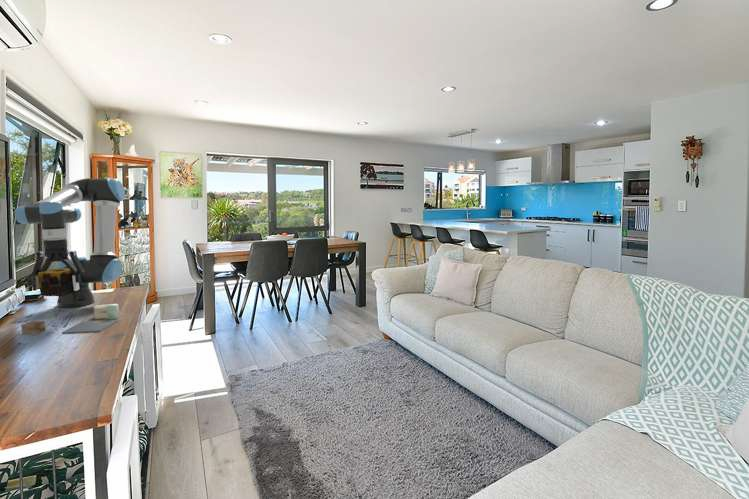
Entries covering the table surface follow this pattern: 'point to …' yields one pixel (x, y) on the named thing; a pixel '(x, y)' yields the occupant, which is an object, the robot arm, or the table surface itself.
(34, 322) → the walnut block
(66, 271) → the candle
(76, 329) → the coaster
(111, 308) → the sage capsule
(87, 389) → the table surface
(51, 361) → the table surface
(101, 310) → the maple block
